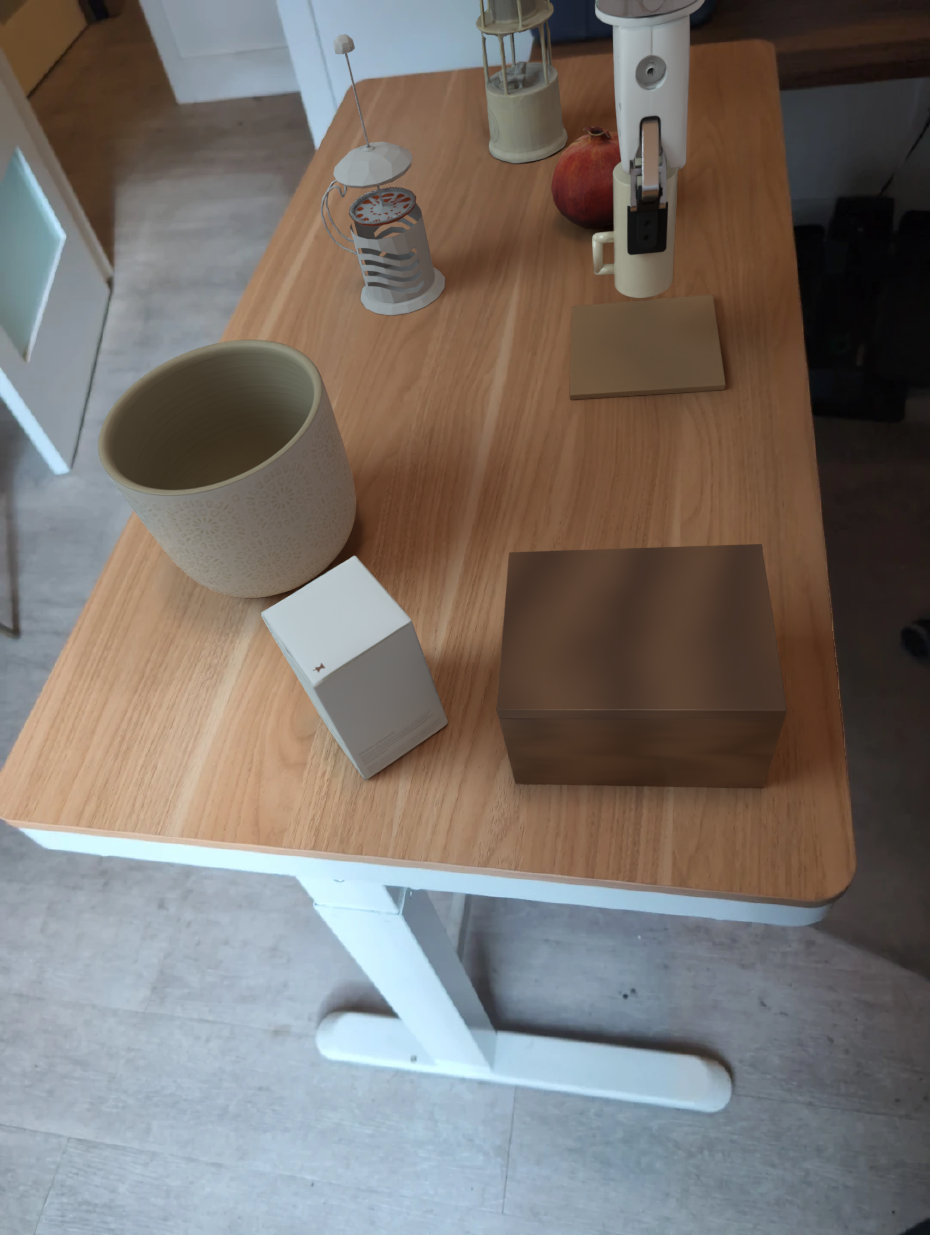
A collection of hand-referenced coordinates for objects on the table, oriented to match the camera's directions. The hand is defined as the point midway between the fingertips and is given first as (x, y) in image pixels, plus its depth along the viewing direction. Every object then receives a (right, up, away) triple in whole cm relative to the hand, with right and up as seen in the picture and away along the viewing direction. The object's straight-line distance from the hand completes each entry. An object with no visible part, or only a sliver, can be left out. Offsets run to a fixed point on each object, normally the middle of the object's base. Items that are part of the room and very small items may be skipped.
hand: (645, 230), depth 71 cm
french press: (-23, +4, +23) cm, 33 cm away
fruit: (0, +12, +24) cm, 27 cm away
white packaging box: (-21, -41, -11) cm, 47 cm away
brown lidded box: (-4, -40, -13) cm, 42 cm away
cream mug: (+1, -3, +4) cm, 5 cm away
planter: (-32, -27, +1) cm, 42 cm away
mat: (+2, -7, +9) cm, 12 cm away
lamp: (-7, +30, +39) cm, 49 cm away
